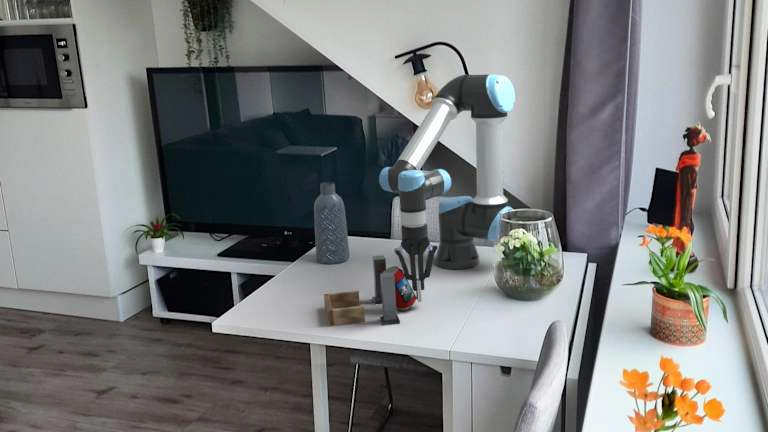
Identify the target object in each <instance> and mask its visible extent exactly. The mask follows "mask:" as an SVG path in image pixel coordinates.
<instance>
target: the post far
mask: <svg viewBox="0 0 768 432" xmlns="http://www.w3.org/2000/svg"><path fill="white" fill-rule="evenodd" d="M386 260H387V258H386V257H385V255H376V256H375V255H374V256H373V255H372V271H373V281H374V283H373V285H374V288H373V289H374V296H372V302H373V303H374V305H376V304H378V305H382V294H381V277H380V274H381V273H383V272H384V271H385V270H386V269H387V262H386Z"/></svg>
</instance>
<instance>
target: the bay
mask: <svg viewBox="0 0 768 432" xmlns="http://www.w3.org/2000/svg"><path fill="white" fill-rule="evenodd" d="M323 298H324V300H323V301H324V309H325V315H326V319H327V326H328V327H335V326H336V327H337V326H343V325H344V326H346V325H351V324H361V323H363V324H364V323H366V312H365V306H361V303H360V291H359V290H352V291H343V292H334V293H333V292H332V293H325V294H323Z"/></svg>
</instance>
